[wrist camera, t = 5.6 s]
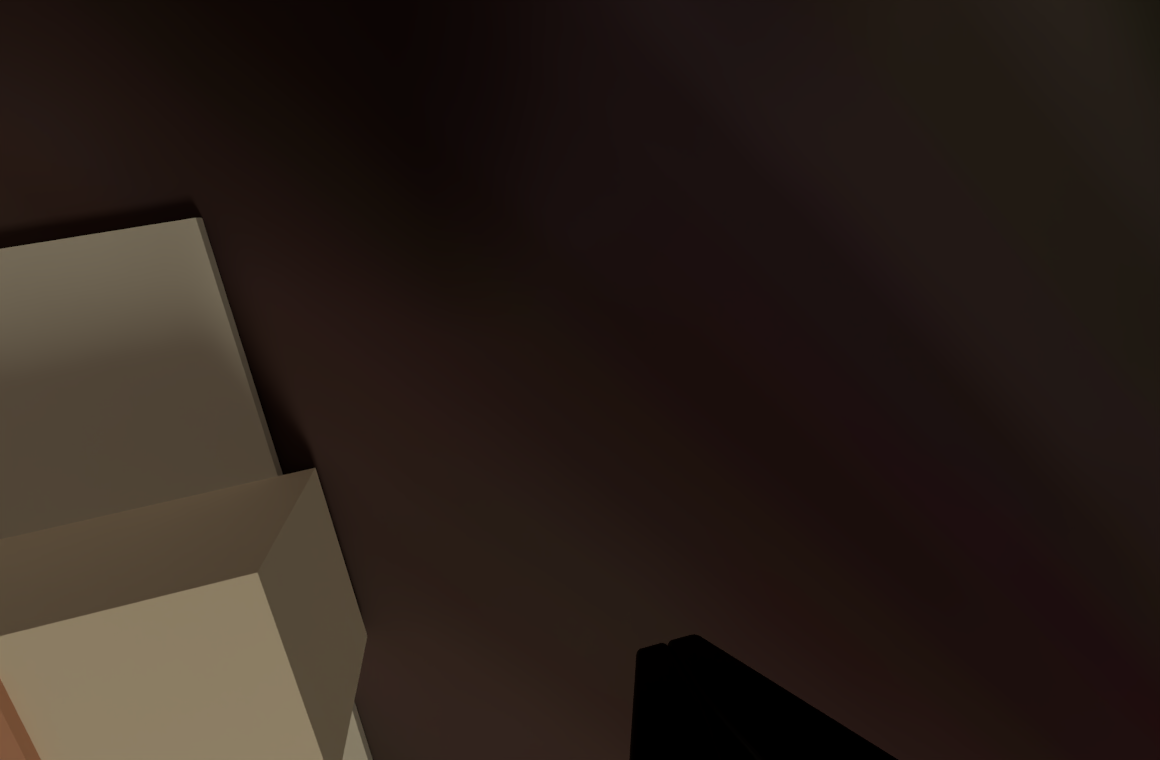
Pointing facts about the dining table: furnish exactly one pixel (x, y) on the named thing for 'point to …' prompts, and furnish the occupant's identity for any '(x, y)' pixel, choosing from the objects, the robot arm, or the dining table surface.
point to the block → (182, 631)
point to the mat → (124, 382)
